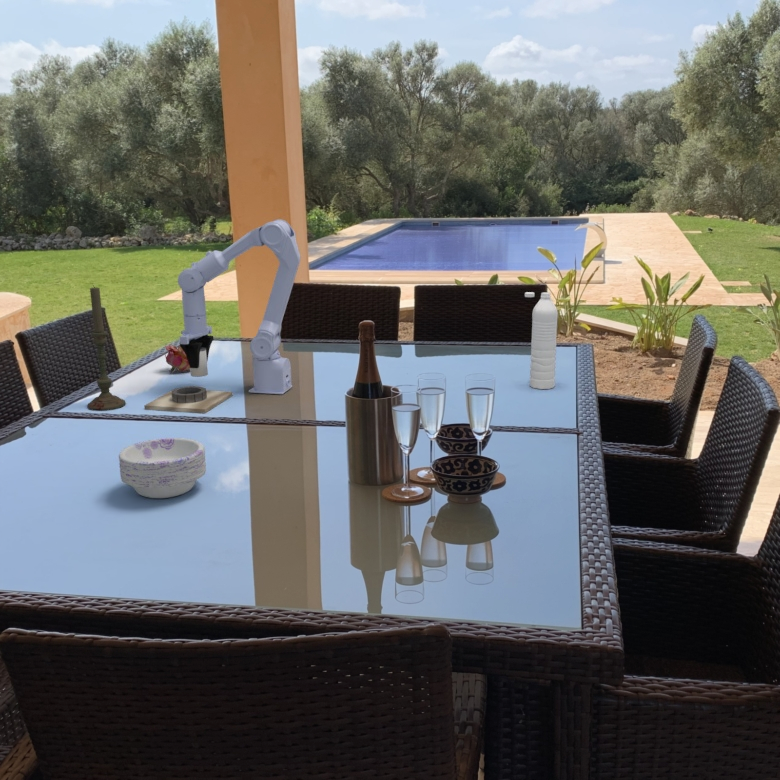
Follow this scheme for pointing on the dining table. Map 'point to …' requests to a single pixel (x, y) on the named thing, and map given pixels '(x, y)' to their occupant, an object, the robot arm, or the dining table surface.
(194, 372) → the grey capped cylinder
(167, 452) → the paper bowls
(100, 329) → the candlestick holder
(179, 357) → the flower
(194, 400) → the tan square tray
